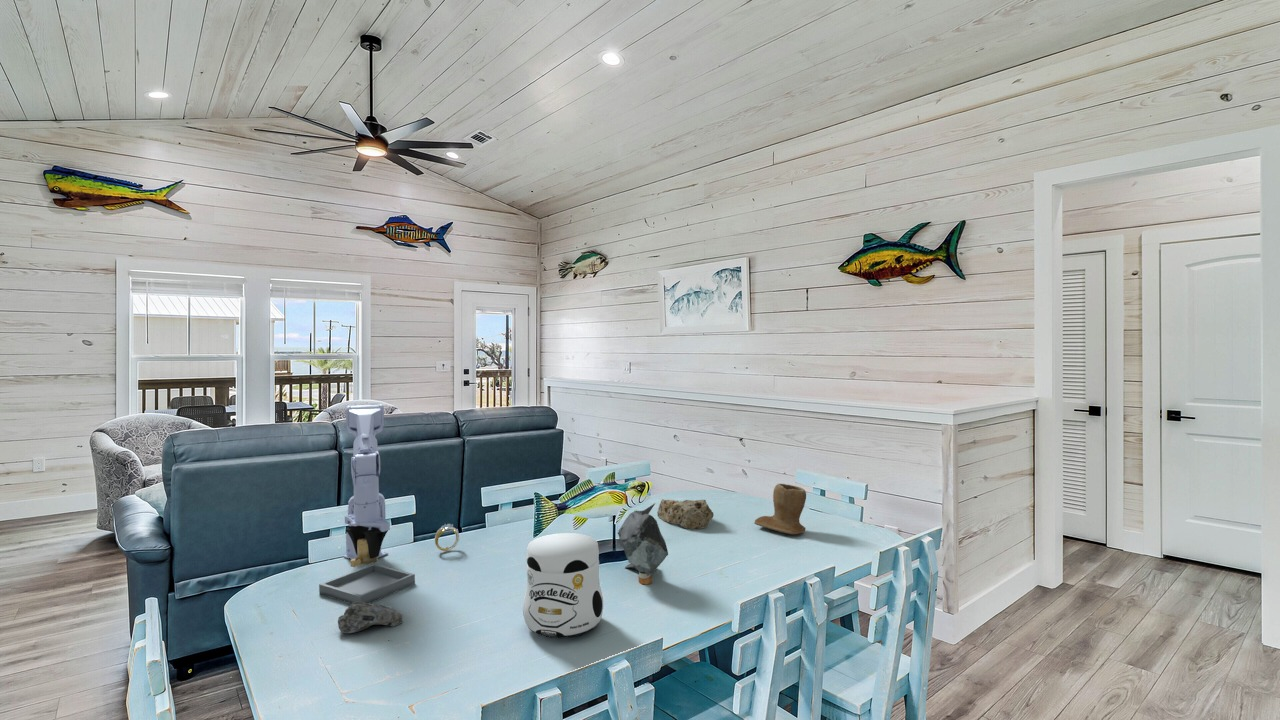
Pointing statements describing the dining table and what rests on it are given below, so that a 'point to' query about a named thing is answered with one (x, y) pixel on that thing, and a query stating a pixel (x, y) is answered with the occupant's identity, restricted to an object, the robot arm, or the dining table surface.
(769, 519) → the brown flared cylinder
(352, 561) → the brass short cylinder
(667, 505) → the rock
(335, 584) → the tray
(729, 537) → the dining table surface
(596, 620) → the doce de leite jar
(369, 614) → the grey rough irregular lump
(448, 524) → the ring
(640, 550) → the grey faceted chunk
